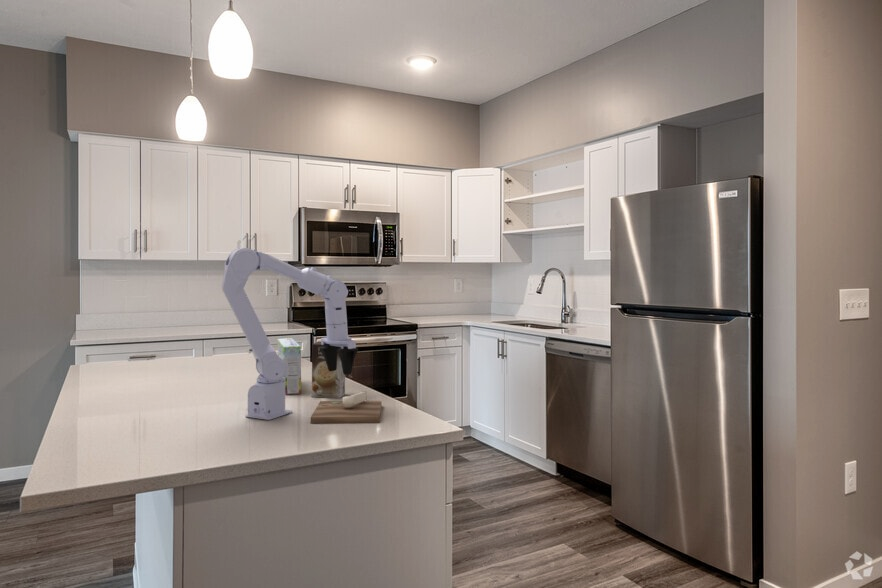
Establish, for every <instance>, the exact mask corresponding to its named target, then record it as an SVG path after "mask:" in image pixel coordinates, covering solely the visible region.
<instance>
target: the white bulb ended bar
mask: <svg viewBox="0 0 882 588" xmlns="http://www.w3.org/2000/svg"><path fill="white" fill-rule="evenodd" d="M342 401H343V407H353V406H354V404H357V403H360V402H362V401H367V391H365V390H363V391H360V392H357V393H354V394H351V395H345V396H344V395H343V396H342Z"/></svg>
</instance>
